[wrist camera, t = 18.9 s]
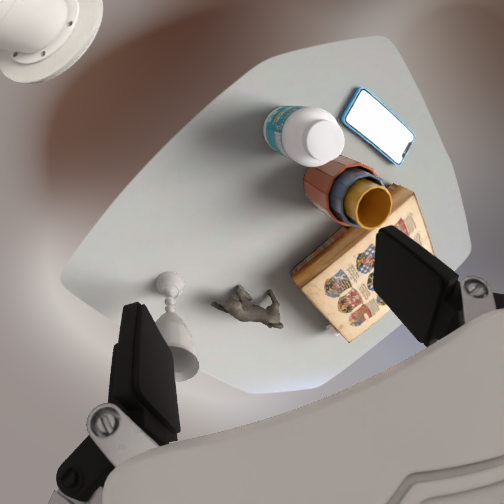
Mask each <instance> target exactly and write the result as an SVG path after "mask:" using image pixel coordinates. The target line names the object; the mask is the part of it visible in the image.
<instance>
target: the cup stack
mask: <svg viewBox="0 0 504 504" xmlns="http://www.w3.org/2000/svg"><path fill="white" fill-rule="evenodd" d="M363 177H365V178H367V179H369V180H371V181H373V182H375V183H377V184H379V185H381V186H383V187H385V186H384V184H383V182H382V180H381V179H380V178H378V177H377V175H376V173H375V171H374V170H373V169H372V168H370V167H368V166H366V165H364V164H362V163H360V162H357V161H355V160H352V159H350V158H347V157H345V156H342V155H339V156H338V157H337V158H335V159H333V160H331V161H329V162H327V163H326V164H324V165H321V166H317V167H308V168H307V171H306V174H305V176H304V180H303V181H304V189H305V194H306V196H307V197H308V198H309V199H310V201H311V202H312V203H313V204H314V205H315V206H316V207H317V208H319V209H320V210H321V211H322V212H324V213H325V214H326V215H327V216H328V217H330V218H331V219H332V220H333V221H334V222H336V223H338V224H342V225H345V226H353V227H356V228H362V227H361V226H359V225H358V224H357V223H355V222H354V221H353V220H352V219H350V218H349V217H348V216H346V215H345V214H344V213H343V199H344V196H345V194H346V191H347V189H348V187H349V186H350V185H351V184H353V183H354V182H355V181H356V180H357V179H358V178H363Z"/></svg>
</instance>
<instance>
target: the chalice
mask: <svg viewBox="0 0 504 504" xmlns="http://www.w3.org/2000/svg"><path fill="white" fill-rule="evenodd" d="M156 287H157V289H158V291H159V292H160V294H161V295H162V296H163V297H164V298H166V299H165V304H166V305H167V306H166V307H165V310H166V313H164V314H163V315H162V316H161V317H160V318H159V319H158V320H157V321H156V322H155V324H156V325H157V327H158V329H159V331H160V333H161V334H162V336H163V338H164V340H165V341H166V343H167V345H168V346H169V348H170V350H171V352H172V355H173V360H174V372H175V382H181V381H185V380H188V379H190V378H192V377H193V376H194V375H195V374H196V373H197V371H198V369H199V362H198V360H197V358H196V356H195V355H194V352H193V343H192V336H191V334H190V331H189V330H188V328H187V326H186V325H185V323H184V322H183V321H182V320H181V319H180V317H179V316H178V315H177V314H175V313H174V311H175V307H174V306H173V305H175V303H176V301H175V298H177V297H178V296H179V295H180V294H181V292H182V291H183V289H184V287H185V282H184V279H183V278H182V277H181V276H180V275H179V274H177V273H174V272H165V273H163V274H161V275H159V277H158V278H157V280H156Z"/></svg>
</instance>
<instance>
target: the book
mask: <svg viewBox="0 0 504 504" xmlns="http://www.w3.org/2000/svg"><path fill="white" fill-rule="evenodd" d="M387 190H388V191H389V193H390V194H391V197H392V203H393V204H392V209H391V213H390V215H389V217H388V218H387V220H386V222H385V223H383V224H382V225H381V226H380V227H378V228H375V229H372V230H368V229H364V228H356V227H353V226H351V227H350V228H349V229H347V228H346V227H341V228H340V229H339V230H338V231H337V232H336V233H335V234H334V235H332V236H331V237H330V238H329V239H328V240H327V241H326V242H325V243H324V244H322V245H321V246H319V248H317V249H316V250H315V251H314V252H313V253H312V254H310V255H308V257H307V258H306V259H303V261H302V262H301V263H300V264H298V265H297V266H296V267H295V268H294V269H293V270H292V272H291V276H292V278H293V280H294V281H295V283H296V285H297V286H298V288H299V290H300V291H301V292H302V293H303V294H304V295H305V296H306V297H307V298H308V299H309V300H310V301H311V303H312V304H313V305H314V306H315V307H316V308H317V309H318V310H319V311H320V312H321V313H322V314H323V315H324V316H325V318H326V319H327V320H328V321H329V322H330V324H329V325H328V326H326V328H327V329H328V330H329V331H330V332H331V333H332V334H333V335H334V336H335V337H336V336H337V335H338V334H339V333H340V334H341V335H342V336H343V337H344V338H345V339H346V340H347V341H348V342H349V343H350V342H351V341H352V340H354V339H355V338H356V337H358V336H359V335H360V334H362V333H363V332H364V331H365V330H367V329H368V328H369V327H371V326H372V325H373V324H374V323H376V322H377V321H378V320H379V319H380V318H382V317H383V316H384V315H385V314H386V313H388V312H389V311H390V310H391V309H390V308H389V307H388V306H387V305H386V303H385V302H384V301H383V300H382V299H381V298H380V297H379V296H378V295H377V294H376V292H375V291H374V289H373V274H374V260H375V241H376V234H377V233H378V231H379V229H380V228H383V227H386V226H389V225H393V226H395V227H396V228H398V229H399V230H401V231H402V232H403V233H405V234H406V235H407V236H409V237H410V238H412V239H413V240H414V241H416V242H417V243H418V244H420V245H421V246H422V247H424V248H425V249H426V250H428V251H429V252H430V253H431V254H433V255H434V256H435V254H434V251H433V247H432V244H431V241H430V237H429V234H428V231H427V228H426V225H425V222H424V219H423V216H422V213H421V210H420V207H419V204H418V202H417V199H416V196H415V194H414V192H412V191H410V190H409V189H407V188H405V187H403V186H401V185H399V186H398V185H396V184H394V183H393V184H392V185H390V186H389V187H388V188H387ZM331 324H332V325H333V326H334V327H335V328H336V329H337V330H336V329H335V328H334V327H333V326H332V325H331Z"/></svg>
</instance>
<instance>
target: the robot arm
mask: <svg viewBox="0 0 504 504" xmlns="http://www.w3.org/2000/svg"><path fill="white" fill-rule="evenodd" d="M79 15H80V5H79V1H78V0H0V48H3V49H8V52H9V54H10V56H11V57H12V59H13V60H15V61H16V62H18V63H22V64H35V63H38V62H41V61H43V60H45V59H47V58H49V57H50V56H52V55H53V54H55V53H56V52H57V51H58V50H59V49H60V48H61V47H62V46H63V45H64V44H65V43H66V42H67V40H68V39H69V38H70V36H71V35H72V33H73V31H74V29H75V28H76V25H77V22H78V20H79ZM71 24H72V25H71ZM70 25H71V26H70ZM44 54H45V55H44ZM458 277H459V275H458V274H456V273H455V272H454V271H453V270H452V269H450V268H449V267H448V266H447V265H445V264H444V263H443V262H442V261H440V260H439V259H438V258H437V257H435V256H434V255H433V254H431V253H430V252H429V251H428V250H426V249H425V248H424V247H422V246H421V245H420V244H418V243H417V242H416V241H414V240H413V239H412V238H410V237H409V236H407V235H406V234H405V233H403V232H402V231H401V230H399V229H398V228H396V227H395V226H393V225H389V226H386V227H383V228H380V229H379V231H378V233H377V234H376V241H375V260H374V274H373V289H374V291H375V292H376V294H377V295H378V296H379V297H380V298H381V299H382V300H383V301H384V302H385V303H386V305H387V306H388V307H389V308H390V309H391V310H392V311H393V312H394V314H395V315H396V316H397V317H398V318H399V319H400V320H401V322H402V323H403V324H404V325H405V326H406V327H407V328H408V330H409V331H410V332H411V333H412V334H413V335H414V337H415V338H416V339H417V340H418V341H419V342H421V343H424V345H425V346H426V347H427V348H425V349H424V350H422V351H420V352H419V353H417V354H415V355H414V356H411V357H410V358H408V359H406V360H404V361H403V362H401V363H399V364H397V365H395V366H393V367H391V368H389V369H387V370H385V371H383V372H381V373H379V374H377V375H375V376H373V377H371V378H369V379H367V380H365V381H363V382H361V383H359V384H356V385H354V386H352V387H350V388H347V389H345V390H343V391H341V392H338V393H336V394H333V395H331V396H329V397H326V398H324V399H321V400H319V401H317V402H313V403H311V404H308V405H306V406H303V407H300V408H297V409H295V410H292V411H289V412H286V413H283V414H280V415H277V416H274V417H271V418H268V419H265V420H261V421H258V422H255V423H251V424H248V425H244V426H241V427H237V428H233V429H229V430H226V431H222V432H218V433H214V434H210V435H205V436H201V437H197V438H192V439H188V440H184V441H180V442H175V443H171V444H169V442H172V441H177V440H178V439H177V433H179V432H180V421H179V413H178V404H177V394H176V384H175V372H174V360H173V355H172V352H171V350H170V348H169V346H168V345H167V343H166V341H165V340H164V338H163V336H162V334H161V333H160V331H159V329H158V327H157V325H156V324H155V322H154V320H153V318H152V316H151V315H150V313H149V311H148V309H147V307H146V305H145V304H143V305H141V304H140V303H139V302H135V303H132V304H128V305H125V306H124V307H123V313H122V319H121V326H120V334H119V341H118V343H117V344H115V345H114V349H113V356H112V365H111V374H110V385H109V396H108V403H104V404H101V405H99V406H97V407H96V408H94V409H93V410H92V411H91V413H90V414H89V416H88V418H87V424H86V426H87V431H88V433H89V436H88V437H87V438H86V439H85V440H84V441H83V442H82V443H81V444H80V445H79V447H77V448H76V449H75V451H74V452H73V453H72V454H71V455H70V456H69V457H68V458H67V459H66V460H65V462H63V464H61V466H60V467H59V469H58V471H57V475H56V481H57V485H58V487H59V489H58V491H55V490H54V492H53V494H52V496H51V498H50V500H49V502H48V504H504V294H498V293H492V289H491V287H490V285H489V284H488V283H487V282H486V281H485V280H483V279H482V278H480V277H476V276H467V277H465V278H464V279H462V281H461V282H459V281H458ZM437 340H438V341H437Z"/></svg>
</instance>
